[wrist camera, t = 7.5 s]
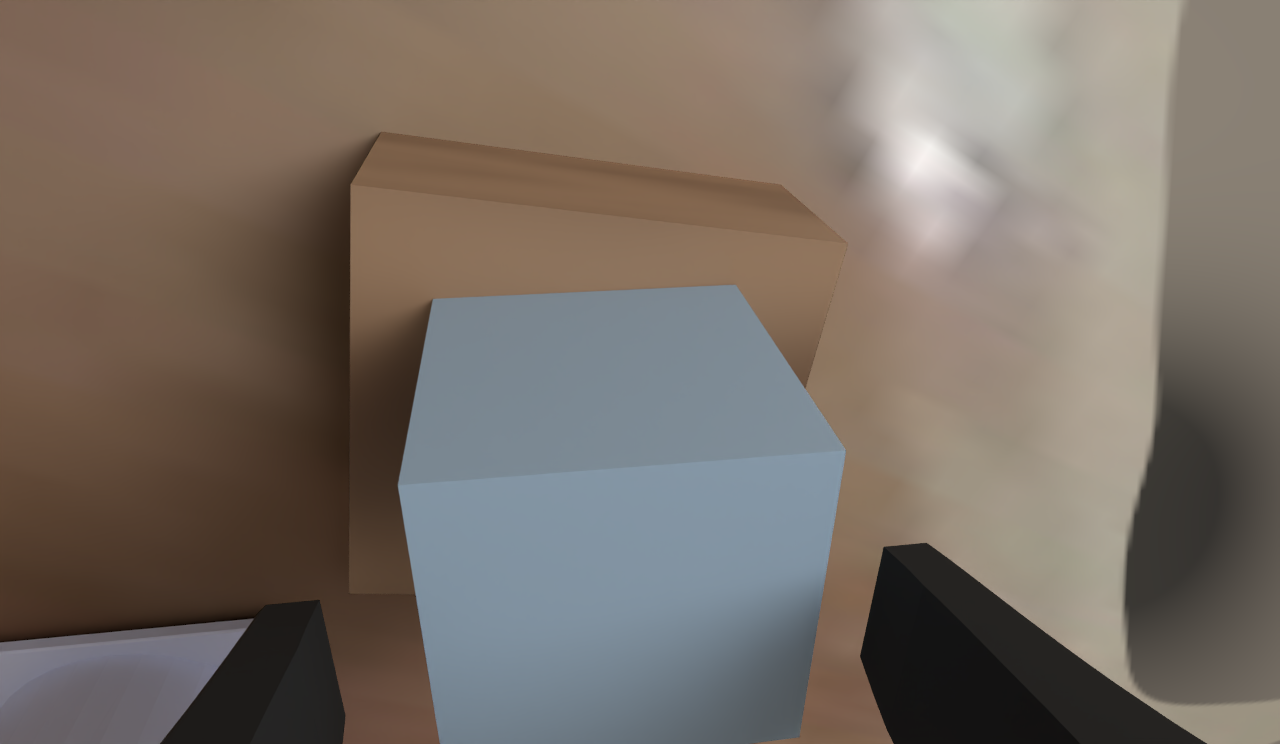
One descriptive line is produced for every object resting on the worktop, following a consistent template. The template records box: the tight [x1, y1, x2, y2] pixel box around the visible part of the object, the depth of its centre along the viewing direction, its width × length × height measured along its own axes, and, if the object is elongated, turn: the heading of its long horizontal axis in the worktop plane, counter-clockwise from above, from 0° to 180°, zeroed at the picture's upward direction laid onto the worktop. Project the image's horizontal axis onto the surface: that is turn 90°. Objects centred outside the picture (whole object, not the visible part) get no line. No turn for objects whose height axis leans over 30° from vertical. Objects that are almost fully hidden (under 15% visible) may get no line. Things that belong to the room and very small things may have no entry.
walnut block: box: [349, 132, 848, 595], centre depth 16 cm, size 8×8×4 cm
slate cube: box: [398, 285, 846, 744], centre depth 12 cm, size 5×5×5 cm
